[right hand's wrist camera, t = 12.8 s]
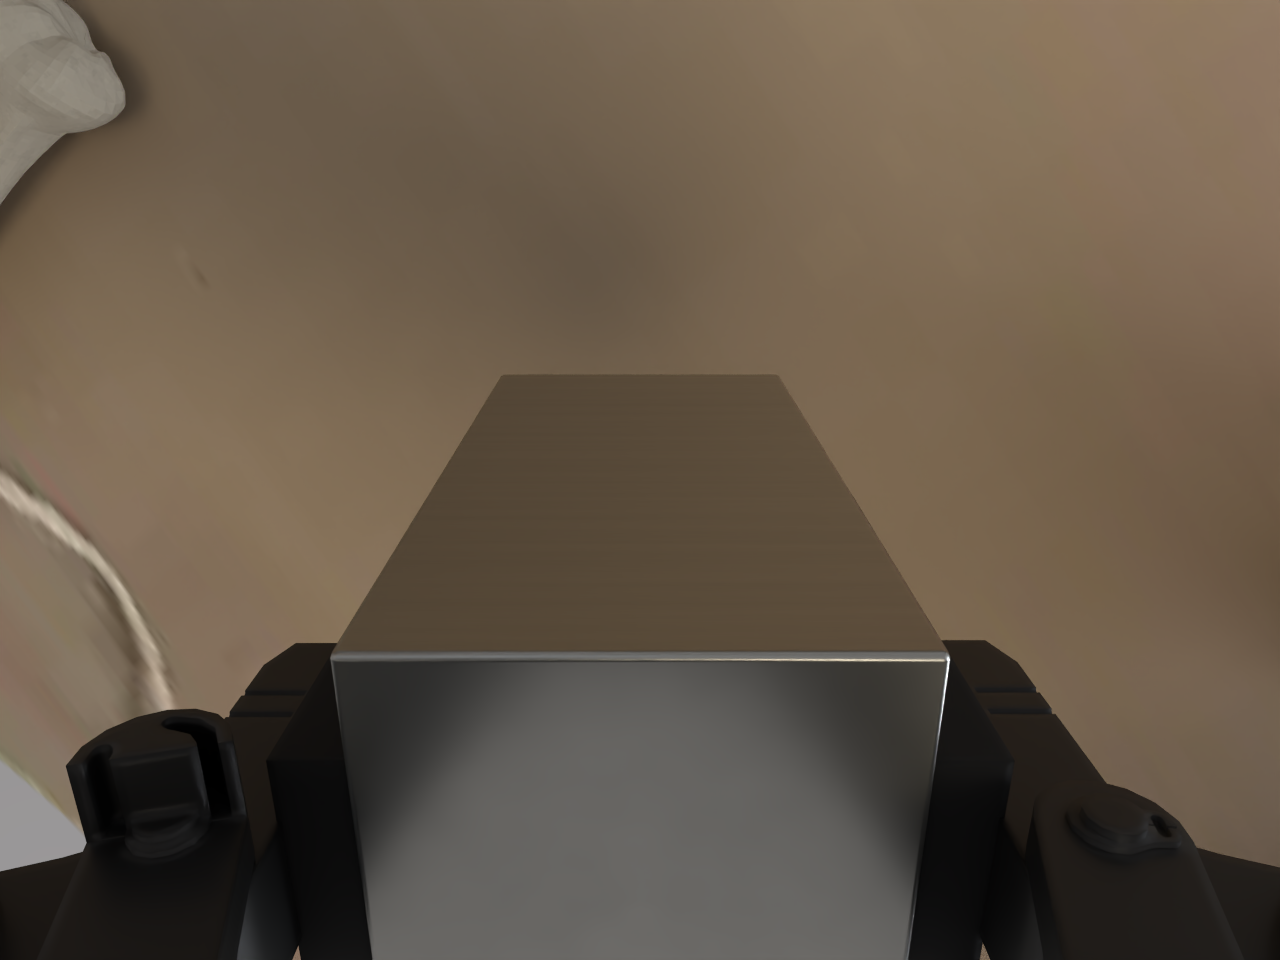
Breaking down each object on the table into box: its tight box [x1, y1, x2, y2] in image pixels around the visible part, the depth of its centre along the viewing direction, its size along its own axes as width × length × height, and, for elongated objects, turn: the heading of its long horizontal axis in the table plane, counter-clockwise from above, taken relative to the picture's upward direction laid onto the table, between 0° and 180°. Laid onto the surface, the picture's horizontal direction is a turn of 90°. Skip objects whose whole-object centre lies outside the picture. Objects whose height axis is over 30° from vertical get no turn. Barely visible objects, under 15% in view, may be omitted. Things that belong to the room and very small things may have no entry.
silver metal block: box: [330, 375, 950, 960], centre depth 13 cm, size 5×5×10 cm
